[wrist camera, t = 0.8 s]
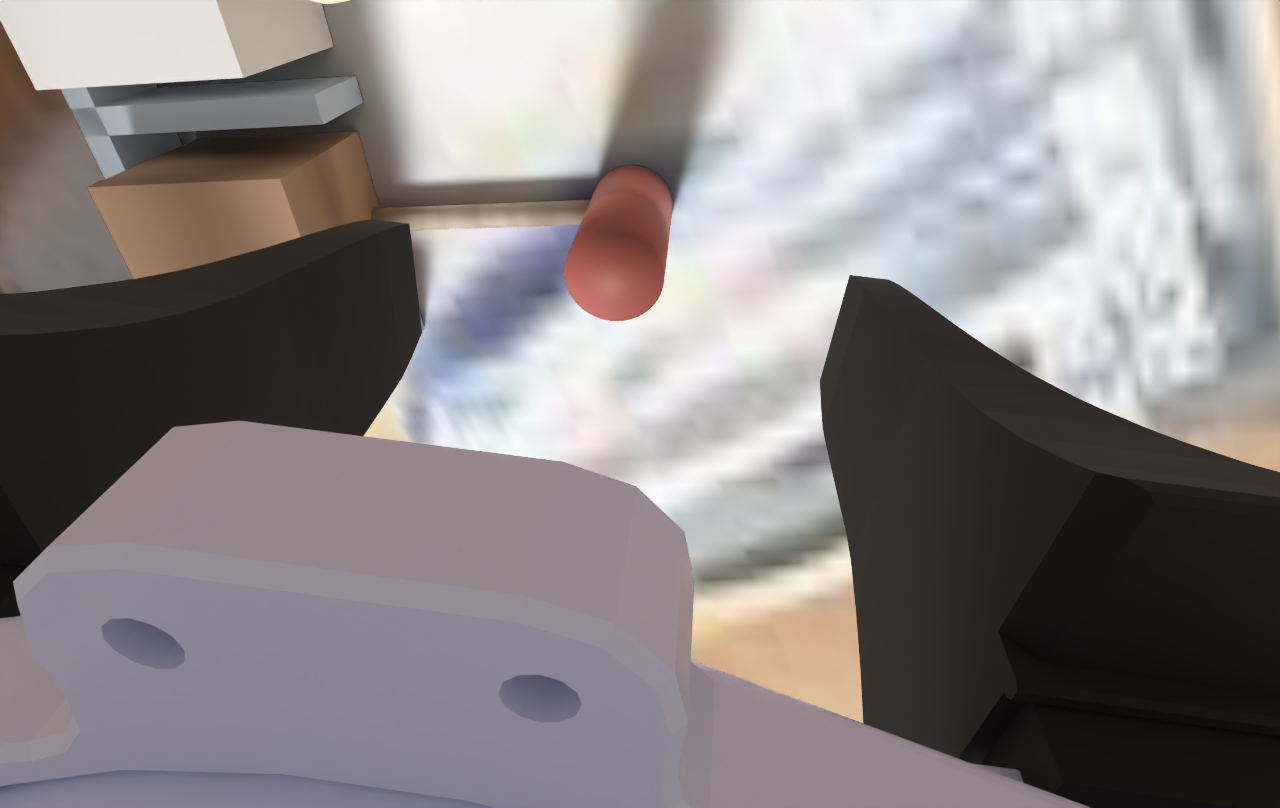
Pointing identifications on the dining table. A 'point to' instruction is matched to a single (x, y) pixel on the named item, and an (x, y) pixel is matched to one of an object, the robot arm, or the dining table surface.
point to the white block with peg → (159, 39)
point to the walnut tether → (366, 212)
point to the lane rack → (197, 113)
